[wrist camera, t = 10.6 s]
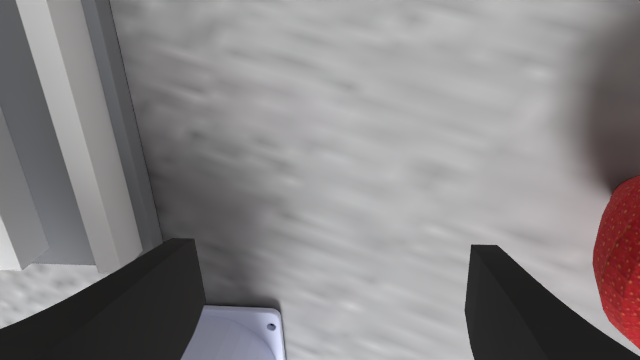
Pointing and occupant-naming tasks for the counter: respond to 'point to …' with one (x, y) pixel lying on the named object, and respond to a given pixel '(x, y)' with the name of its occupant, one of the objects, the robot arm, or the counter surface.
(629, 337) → the strawberry
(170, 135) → the counter surface
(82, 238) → the rack
